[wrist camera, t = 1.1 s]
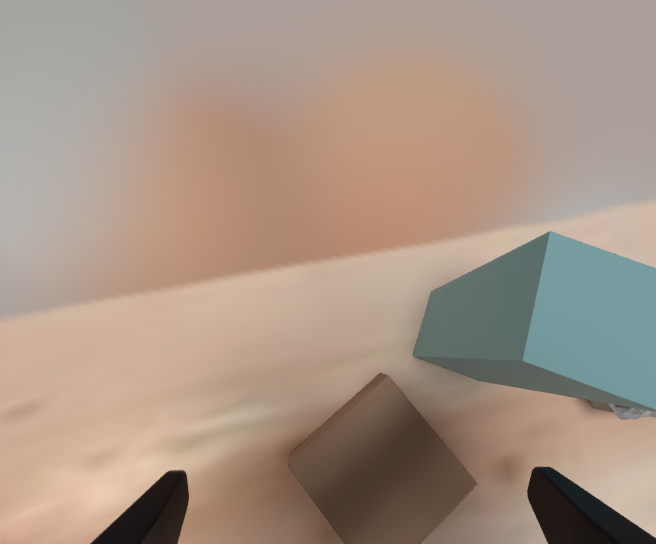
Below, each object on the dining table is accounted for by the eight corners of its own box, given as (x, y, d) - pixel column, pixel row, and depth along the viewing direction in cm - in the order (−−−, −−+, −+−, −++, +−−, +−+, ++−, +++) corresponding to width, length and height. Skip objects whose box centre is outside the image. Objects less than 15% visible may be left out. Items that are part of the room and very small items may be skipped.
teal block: (478, 380, 24) (665, 413, 11) (412, 356, 24) (522, 360, 11) (494, 314, 25) (680, 276, 12) (431, 291, 25) (550, 231, 13)
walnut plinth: (456, 466, 23) (477, 483, 20) (368, 556, 21) (377, 588, 18) (379, 372, 24) (388, 375, 21) (291, 451, 23) (288, 466, 20)
